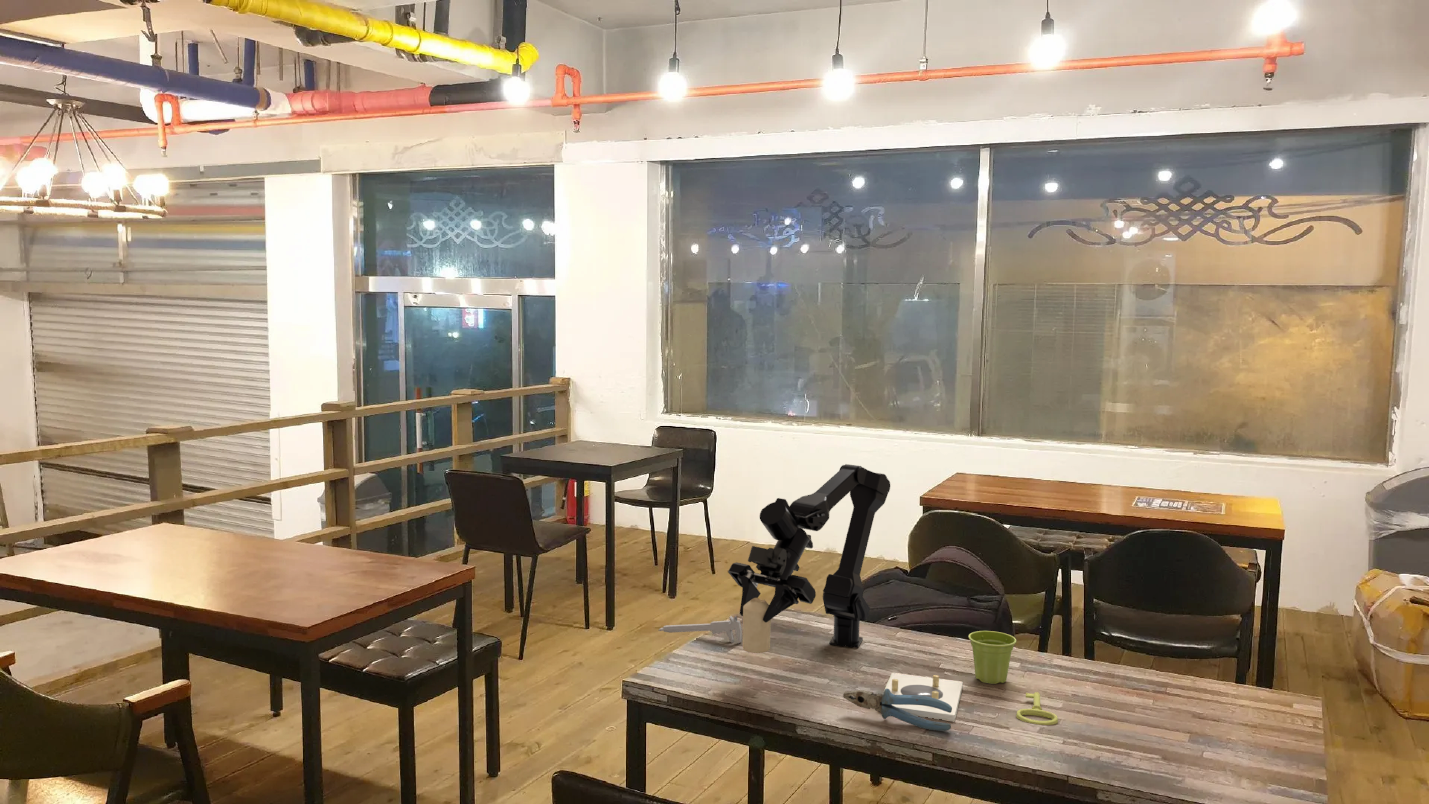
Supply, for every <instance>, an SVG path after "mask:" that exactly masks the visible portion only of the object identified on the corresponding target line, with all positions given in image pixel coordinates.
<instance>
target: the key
mask: <svg viewBox="0 0 1429 804" xmlns="http://www.w3.org/2000/svg"><path fill="white" fill-rule="evenodd" d="M1025 698H1026V699H1027V698H1028V699H1033V706H1032V707H1031V708H1021V709H1018V710H1017V711H1016V715H1015V717H1016V719H1018V721H1019V720H1020V721H1022V722H1024V723H1029V724H1033V725H1039V726H1052V725H1053V726H1054V725H1057V724H1058V723H1059V722H1058V721H1059V718H1058V716H1057V715H1056V714H1055V713H1053V712H1051V711H1047V710H1043V708H1042V707H1041V694H1040V692H1038V691H1035V692H1034V693H1029V692H1025ZM1026 716H1037V717H1044V718H1047V719H1049V720H1037V719H1031V718H1028V717H1026Z"/></svg>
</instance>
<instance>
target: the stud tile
mask: <svg viewBox="0 0 1429 804" xmlns="http://www.w3.org/2000/svg"><path fill="white" fill-rule="evenodd" d="M890 674H891V675H890V677H889V678H888V681H887V683H886V686H885V688H884V690H885V689H889V690H890V692H891V693H892V694H894V695H920V696H927V697H931V698H935V699H938V700H941V701H943V702H946V703H948V704H949V705H950V706H951V707H952V711H951V713H949V712H946V711H943V710H941V709H937V708H934V707H929V706H923V705H893V706H895V707H897V708H899V709H902V710H904V711H906V712H908V713H910V714H913V715H915V716H917V717H918V716H920V718H925V717H928V718H927V719H932V718H934V719H933V720H939V719H942V720H941V721H948V722H953V723H955V721H956V717H957V713H958V708H959V705H960V700H961V697H962V691H963V684H964V683H963V681H960V680H952V679H944V678H940V675H937V674H934V675H932V677H930V676H929V677H928V676H920V675H912V674H905V673H899V672H897V673H896V672H891V673H890Z"/></svg>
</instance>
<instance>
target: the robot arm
mask: <svg viewBox="0 0 1429 804" xmlns="http://www.w3.org/2000/svg"><path fill="white" fill-rule="evenodd" d="M890 491H891V482H890V480H889V478H888V476H887V475H886V474H885V473H881V472H879V473H878V472H874V471H871V470H868V469H866V468H865V467H862V466H861V465H855V464H847V463H845V464H842V465H841V466H840V468H839V470H838V471H837V472H836V473H835V474H834V475H833V476H832V477H831V478H829V480H827V481H826V482H825V483H823V485H821V487H819V488H818V489H817V490H816V491H814V492H813V493H811V494H807V495H803V496H800V497H798V498H797V499H795V500H794V501H792V502H791V503H790V505H789V503H788V501H787V499H785V498H780V497H778V498H776V500H775V501H774V502H771V503H768V504H767V505H766V506H765V507H763V508H762V509H760V510H761V511H760V513H759V520H760V521H761V523H762V525H763V526H764V527H765V529H766V530H767V532H768V534H769V535H770V536H771V537H772V539H773V540H776V543H775V545H774V547H768V548H765V547H760V546H755V545H752V546H751V548H750V552H749V555H748V559H747V562H749V563H754V564H756V566H755V568H756V570H758V571H759V572H760V573H758V572H755V571H754V569H753V568H752V567H751V565H750V564H746V563H742V562H737V561H736V562H733V563H732V564H731V565H730V567H729V569H728V570H727V573H728V574H729V575H730V577H731V578H732V579H733V581H735V583H736V584H737V586H739V587H740V588H741V589H742V591H741V593H742V594H741V602H740V608H739V615H740V617H743V606H744V605H745V604H746V603H748V602H749V601H750V600H752V599H753V598H759V596H761V592H760V591H759V589H758V586H759V585H764V586H768V587H771V588H774V589H775V590H774V594H773V597H772V599H771V601H770V603H769V607H768V608H767V610H766V612H765V615H764V617H763V621H764V622H768V621H769V620H772V619H774V618H775V617H776V616H778V615H779V614H781V613H782V612H783V611H785V610H786V609H788V608H790V607H792V606H793V605H798V604H799V603H800V602H801V603H806V604H809V605H811V604H813V603H814V600H815V598H816V596H817V593H816V589H815V588H814V586H813V584H812V583H811V582H810V580H809V579H808V578H807V577H805V576H800V575H796V574H793V573H794V572H799V570H800V568H801V567H800V566H799V564H798V563H799V562H800V560H801V557H802V555H803V553H804V552H805V550H806V549H807V548H808V549H813V547H814V544H813V540H812V535H810V534H808V533H807V532H806V530H809V531H813V532H818V531H820V530H822V528H823V527H824V526H825V524H827V522H828V520H830V512H831V510H832V509H833V508H834V507H835V506H836V505H837V504H839V502H841V500H843V499H844V498H845V497H846V496H847V495H848V494H849V496H850V499H851V502H852V503H851V504H852V506H853V509H852V514H851V516H850V517H851V518H850V521H849V524H848V525H849V526H848V528H847V529H848V530H847V534H846V535H845V536H846V537H845V541H844V546H843V550H842V553H841V557H840V561H839V566H838V568H837V569H836V571H835V572H834V573H833V574H832V573H829V574H828V575H827V576H826V579H825V586H824V588H823V589H822V592H823V593H822V601H823V606H824V611H825V614H826V615H831V616H833V636H832V638H831V639H830V641H829V643H828V645H831V646H837V647H838V646H839V647H848V648H859V647H860V645H861V643H862V642H863V639H864V637H862V636H860V622H861V621H867V618H869V615H870V610H871V607H870V605H869V604H868V603H867V600H866V599H865V598H864V591H865V587H864V583H863V582H862V577H861V571H862V568H863V564H864V560H865V555H866V551H867V549H868V548H867V547H868V542H869V539H870V535H871V530H872V527H873V522H874V518H875V514H876V513H877V512H878V510H879V509H880V508H881V507H883V505H885V503H886V500H887V497H888V494H889V493H890ZM799 601H800V602H799Z"/></svg>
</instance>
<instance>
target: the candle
mask: <svg viewBox="0 0 1429 804" xmlns="http://www.w3.org/2000/svg"><path fill="white" fill-rule="evenodd" d="M769 605H770V603H768V602H767V601H766V600H765V599H760V598H759V597H758V598H753V599H752V600H750V601H749V602H748V603H746V604H745V605H744V606H743V616H742V650H743V651H745V652H748V653H752V654H763V653H767V652H769V651H770V650H771V622H772V621H771V620H772V619H771V620H769V621H768V622H764V621H763V617H764V615H765V612H766V610H767V608H768V607H769Z"/></svg>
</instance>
